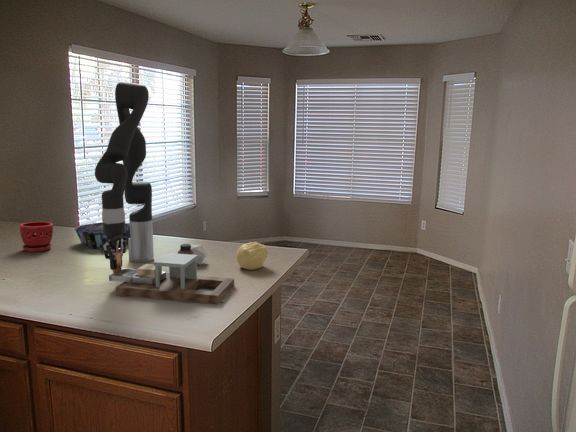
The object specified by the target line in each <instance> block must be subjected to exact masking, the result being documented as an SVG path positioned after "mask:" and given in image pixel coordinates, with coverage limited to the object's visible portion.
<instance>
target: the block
mask: <svg viewBox="0 0 576 432" xmlns="http://www.w3.org/2000/svg"><path fill="white" fill-rule="evenodd" d="M162 267H163V266H159V274H160V273H162V271H163V270H162V269H163V268H162ZM137 269H138V277H149V278H154V277H155V266H154V263H144V264H143V265H142V266H140V267H138V268H137Z"/></svg>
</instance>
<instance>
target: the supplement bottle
mask: <svg viewBox="0 0 576 432" xmlns="http://www.w3.org/2000/svg"><path fill="white" fill-rule="evenodd" d="M191 245H192V244H191V243H182V244H180V247H179V248H180V249H179V250H178V251H177V254H190V255H193V250H191Z"/></svg>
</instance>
